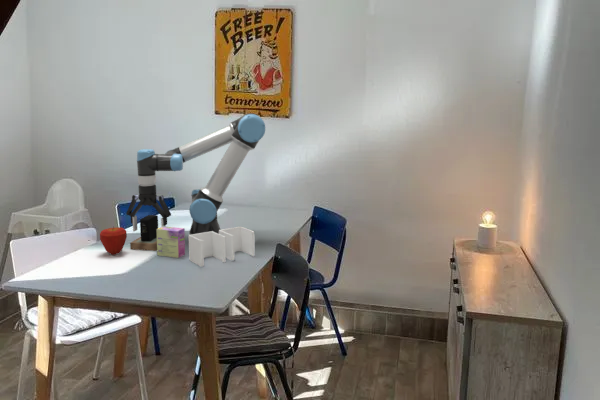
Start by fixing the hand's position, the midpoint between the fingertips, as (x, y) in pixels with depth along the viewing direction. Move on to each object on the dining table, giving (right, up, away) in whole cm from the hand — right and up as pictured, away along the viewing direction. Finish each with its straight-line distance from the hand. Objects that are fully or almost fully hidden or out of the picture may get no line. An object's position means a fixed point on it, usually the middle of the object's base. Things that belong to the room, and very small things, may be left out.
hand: (149, 231), depth 260 cm
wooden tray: (0, -7, +1) cm, 7 cm away
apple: (-12, -9, -11) cm, 19 cm away
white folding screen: (+35, -11, -17) cm, 40 cm away
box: (+13, -10, -13) cm, 20 cm away
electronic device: (0, -4, +1) cm, 4 cm away
